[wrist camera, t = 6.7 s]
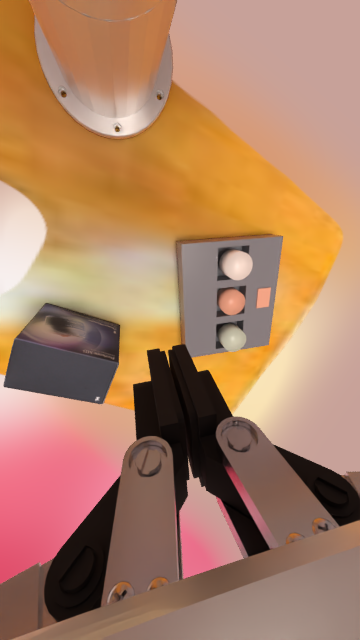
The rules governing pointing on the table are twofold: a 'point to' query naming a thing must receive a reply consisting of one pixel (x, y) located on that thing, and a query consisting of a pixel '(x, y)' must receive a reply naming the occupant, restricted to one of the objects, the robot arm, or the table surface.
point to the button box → (207, 279)
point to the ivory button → (235, 264)
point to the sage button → (231, 337)
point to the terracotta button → (230, 300)
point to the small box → (65, 355)
